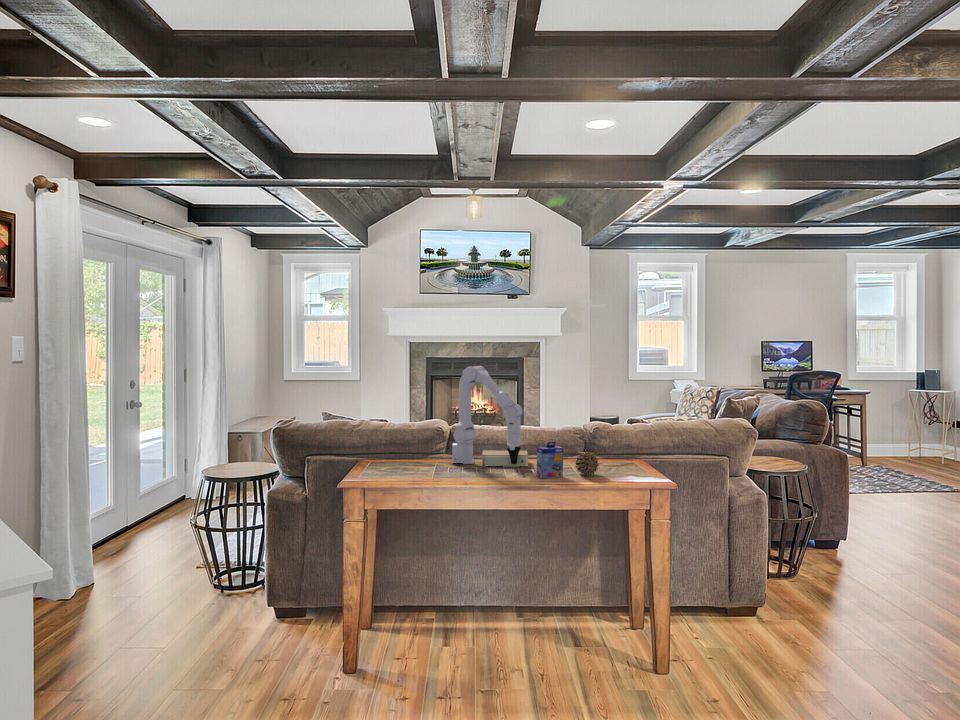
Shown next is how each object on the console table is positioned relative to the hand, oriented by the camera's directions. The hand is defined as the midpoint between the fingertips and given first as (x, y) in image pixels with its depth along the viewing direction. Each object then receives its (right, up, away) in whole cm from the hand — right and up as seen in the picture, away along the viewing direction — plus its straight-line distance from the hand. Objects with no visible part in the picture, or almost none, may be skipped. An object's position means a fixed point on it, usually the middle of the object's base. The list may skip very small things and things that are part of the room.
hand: (513, 464), depth 286 cm
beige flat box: (-4, -1, +9) cm, 10 cm away
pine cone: (+29, -2, -13) cm, 31 cm away
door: (-4, -1, +2) cm, 5 cm away
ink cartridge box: (+13, -3, -19) cm, 23 cm away
